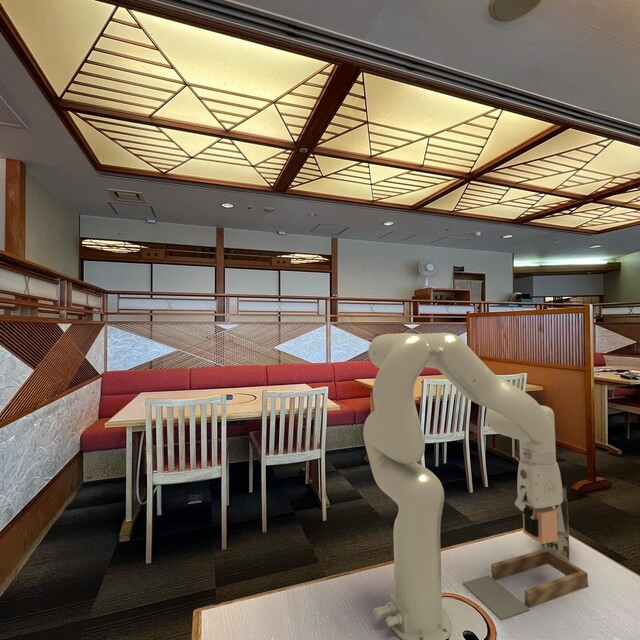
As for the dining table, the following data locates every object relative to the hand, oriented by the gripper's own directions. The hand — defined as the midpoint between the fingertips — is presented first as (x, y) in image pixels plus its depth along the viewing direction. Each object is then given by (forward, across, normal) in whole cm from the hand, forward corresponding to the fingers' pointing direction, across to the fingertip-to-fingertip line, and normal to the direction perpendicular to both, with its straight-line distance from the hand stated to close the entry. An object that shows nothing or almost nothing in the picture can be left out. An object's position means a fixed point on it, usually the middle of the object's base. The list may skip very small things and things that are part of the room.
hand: (540, 530), depth 81 cm
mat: (+12, -15, 0) cm, 19 cm away
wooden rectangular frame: (+12, -1, 0) cm, 12 cm away
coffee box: (+12, +15, +7) cm, 20 cm away
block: (+1, 0, 0) cm, 1 cm away
